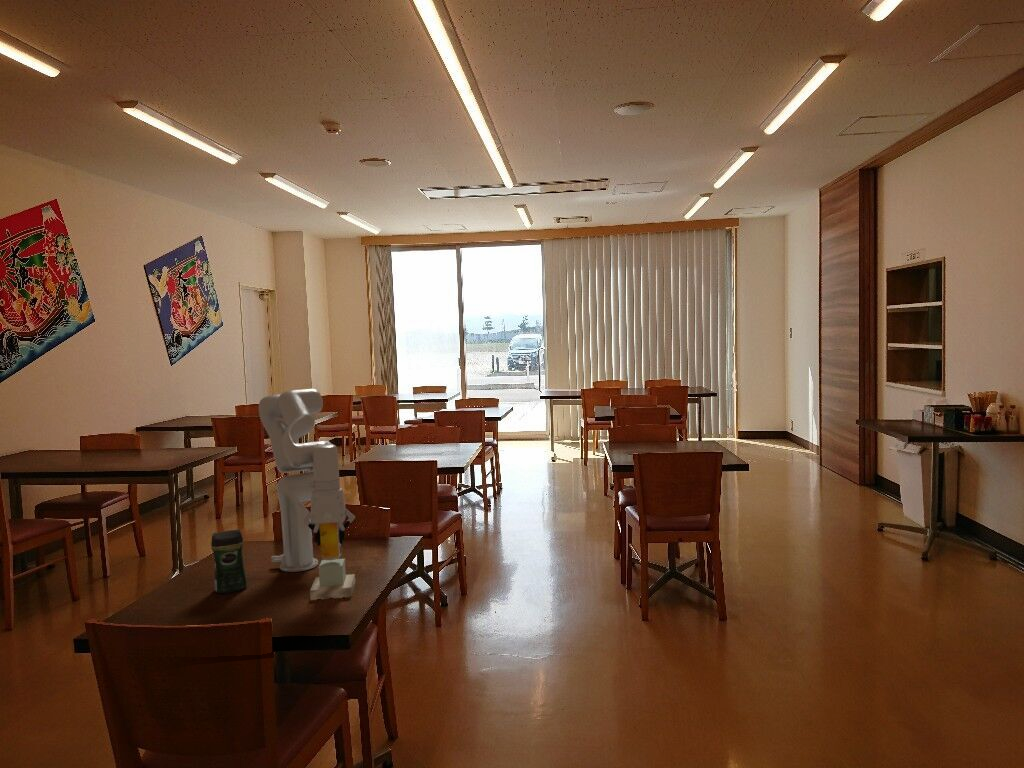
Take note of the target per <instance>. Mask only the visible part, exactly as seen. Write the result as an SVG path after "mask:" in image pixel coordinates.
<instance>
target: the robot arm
mask: <svg viewBox="0 0 1024 768" xmlns="http://www.w3.org/2000/svg"><path fill="white" fill-rule="evenodd" d="M323 407H324V401H323V396H322V394H321V392H320V391H318V390H317V389H315V388H303V389H302V388H301V389H300V388H299V389H291V390H287V391H284V392H281V393H276V394H275V393H274V394H270V395H267V396H264V397H263V398H261V399H260V400H259V402H258V413H259V418H260V421H261V424H262V426H263V428H264V429H265V431H266V433H267V435H268V437H269V440H270V445H271V450H272V453H273V454H272V455H273V459H274V462H275V466H276V469H277V470H278V472H279V473H282V474H286V473H287V474H288V473H289V475H286V476H284V477H281V478H280V479H279V480H278V481H277V484H276V487H275V488H276V494H277V498H278V503H279V508H280V517H281V520H280V521H281V530H282V544H283V545H282V548H283V554H280V555H271V557H270V561H271V562H272V563H273V564H279V563H280V564H279V569H280V570H281V571H282V572H286V573H287V572H289V573H297V572H298V573H299V572H303V571H304V572H305V571H309V570H311V569H314V568H316V567H318V565H319V560H318V559H317V558H315V557H314V548H313V534H312V531H313V533H314V541H315V543H317V546H319V547H320V531H319V524H323V523H324V522H323V515H325V513H330V514H332V523H338V525H339V527H340V531H339V535H340V544H341V545H343V543H344V541H346V529H347V528H348V527H349V525H351V523H352V522H353V521H354V520H355V519H356V516H355V514H354V513H352V512H351V511H350V510H349V509H347V506H346V500H345V495H344V491H343V488H342V487H341V485H340V484H341V483H340V468H339V454H338V453H339V452H338V451H339V450H338V447H337V446H336V445H335V444H333V443H331V442H330V441H328V440H320V441H319V440H318V441H310V442H300V443H299V442H298V440H299V439H300V438H303V437H304V436H307V434H309V433H310V432H312V430H313V429H314V428H315V425H316V424H315V423H316V421H315V418H314V416H313V415H317V414H319V413H320V412H321V411H322V410H323ZM283 419H284V420H283ZM303 471H308V472H304V473H298V472H303ZM296 472H297V473H296ZM290 473H295V474H290ZM308 501H310V511H309V509H308V508H307V507H306V506H304V505H303V503H304V502H305V503H306V502H308ZM347 517H348V518H347ZM346 518H347V520H346Z"/></svg>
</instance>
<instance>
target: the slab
mask: <svg viewBox="0 0 1024 768" xmlns="http://www.w3.org/2000/svg"><path fill="white" fill-rule="evenodd" d="M355 587H356V574H355V573H352V574H346V579H345V582H344V585H338V586H325V587H320V582H319V576H316V577H315V578H314V581H313V583H312V585H311V587H310V589H309V595H310V596H309V598H310V601H317V599H321V600H330V599H329V598H333V599H343V597H345V598H352V597H353V593H354V590H355Z"/></svg>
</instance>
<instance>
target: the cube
mask: <svg viewBox="0 0 1024 768" xmlns="http://www.w3.org/2000/svg"><path fill="white" fill-rule="evenodd" d="M318 565H319V566H318V577H319V582H320V587H325V586H338V585H344V582H345V579H346V575H347V574H346V573H347V571H346V558H338V559H335V560H324V559H322V560H321V561H320V564H318Z"/></svg>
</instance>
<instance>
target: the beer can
mask: <svg viewBox="0 0 1024 768" xmlns="http://www.w3.org/2000/svg"><path fill="white" fill-rule="evenodd" d="M323 522H324V523H323V524H319V531H320V545H319V547H320V557H321V558H322V560H335V559H341V556H342V553H343V552H342V544H340V535H339V531H340V527H339V525H338V523H332V514H330V513H325V515H323Z"/></svg>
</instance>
